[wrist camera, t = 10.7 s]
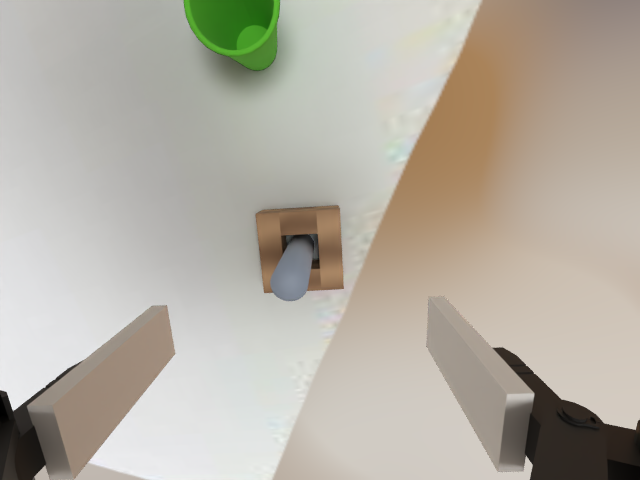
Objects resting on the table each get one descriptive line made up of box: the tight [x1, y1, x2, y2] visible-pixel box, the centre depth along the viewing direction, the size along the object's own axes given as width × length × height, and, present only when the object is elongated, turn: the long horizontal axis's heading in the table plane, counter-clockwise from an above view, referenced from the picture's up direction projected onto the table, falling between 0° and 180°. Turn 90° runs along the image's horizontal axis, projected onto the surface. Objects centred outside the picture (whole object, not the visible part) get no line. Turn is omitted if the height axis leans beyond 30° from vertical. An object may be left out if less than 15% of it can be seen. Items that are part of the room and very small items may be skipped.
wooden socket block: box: [256, 205, 344, 293], centre depth 42 cm, size 11×11×4 cm
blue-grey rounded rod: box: [270, 234, 314, 301], centre depth 37 cm, size 4×4×16 cm
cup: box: [184, 0, 280, 70], centre depth 34 cm, size 9×9×11 cm
